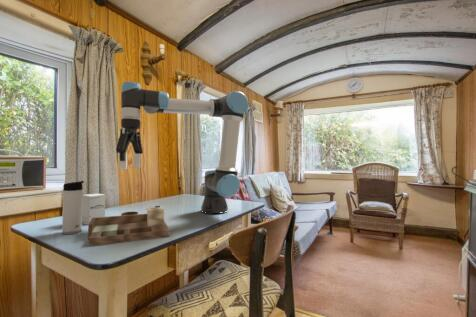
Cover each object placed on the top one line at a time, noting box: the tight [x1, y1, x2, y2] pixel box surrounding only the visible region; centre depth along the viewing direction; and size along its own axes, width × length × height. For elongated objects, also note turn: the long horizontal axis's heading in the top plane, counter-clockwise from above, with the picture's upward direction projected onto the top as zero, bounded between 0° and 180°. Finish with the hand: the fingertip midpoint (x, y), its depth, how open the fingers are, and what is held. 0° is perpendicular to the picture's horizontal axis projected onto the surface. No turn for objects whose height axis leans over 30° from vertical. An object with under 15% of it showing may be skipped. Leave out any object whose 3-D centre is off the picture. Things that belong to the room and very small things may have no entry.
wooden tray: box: [87, 213, 170, 247], centre depth 92 cm, size 27×17×6 cm, turn 115°
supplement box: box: [82, 193, 106, 226], centre depth 107 cm, size 7×7×13 cm
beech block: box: [146, 206, 165, 226], centre depth 98 cm, size 6×6×6 cm
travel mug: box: [61, 180, 85, 236], centre depth 93 cm, size 6×7×20 cm
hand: (130, 168), depth 101 cm, fingers open, 13 cm apart
